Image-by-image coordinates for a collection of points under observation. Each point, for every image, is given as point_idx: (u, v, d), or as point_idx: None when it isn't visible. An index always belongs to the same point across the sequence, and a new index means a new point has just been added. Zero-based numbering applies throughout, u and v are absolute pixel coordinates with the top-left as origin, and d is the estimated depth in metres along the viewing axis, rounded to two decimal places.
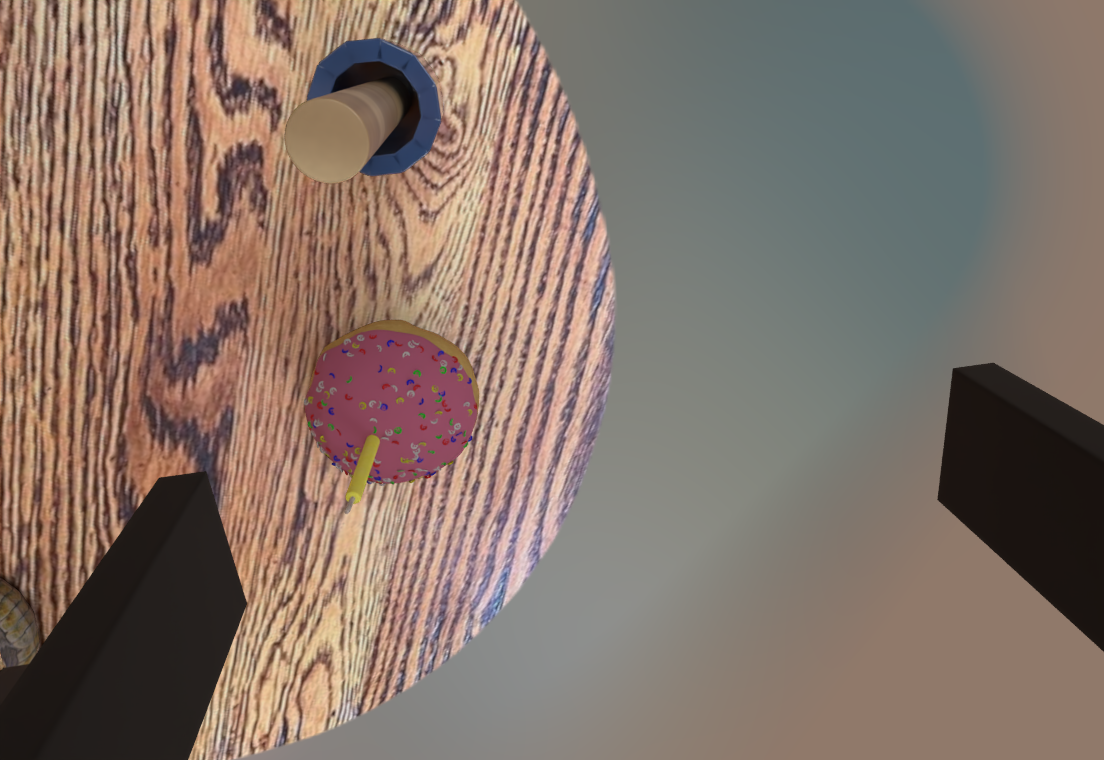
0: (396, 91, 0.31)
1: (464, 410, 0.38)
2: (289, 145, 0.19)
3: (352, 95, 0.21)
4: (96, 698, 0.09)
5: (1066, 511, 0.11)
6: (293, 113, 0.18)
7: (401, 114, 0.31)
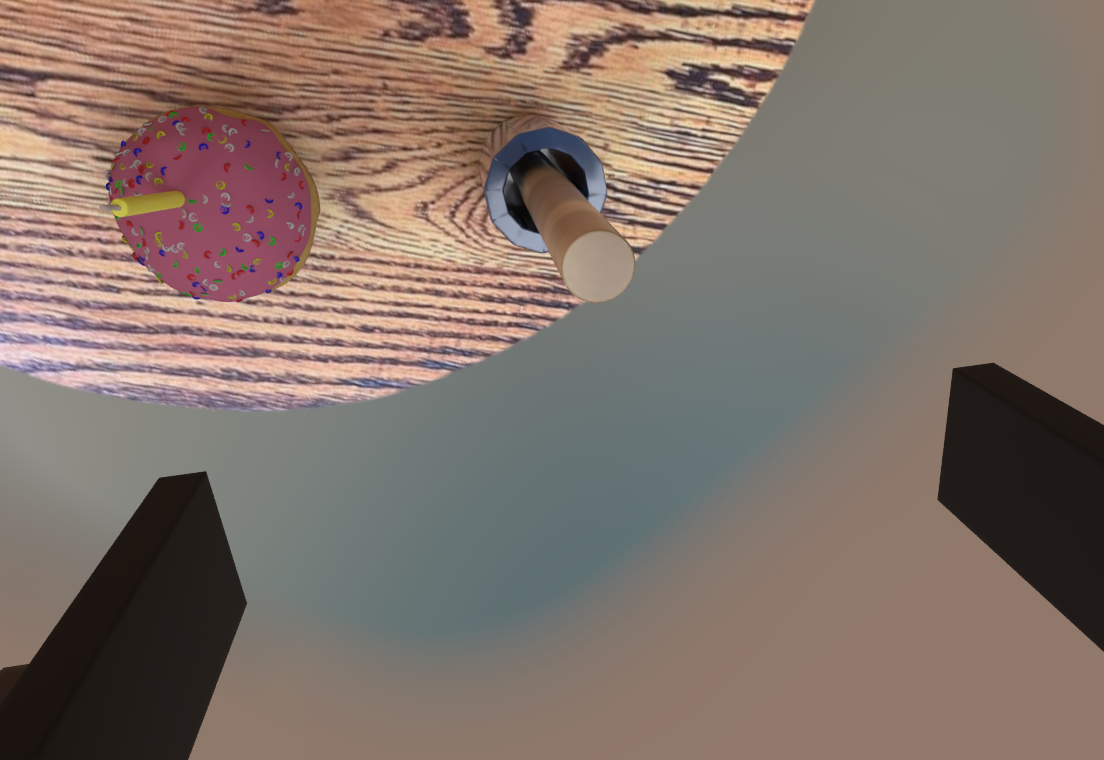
0: None
1: (234, 291, 0.34)
2: (592, 234, 0.20)
3: None
4: (96, 698, 0.09)
5: (1066, 511, 0.11)
6: (620, 237, 0.20)
7: None
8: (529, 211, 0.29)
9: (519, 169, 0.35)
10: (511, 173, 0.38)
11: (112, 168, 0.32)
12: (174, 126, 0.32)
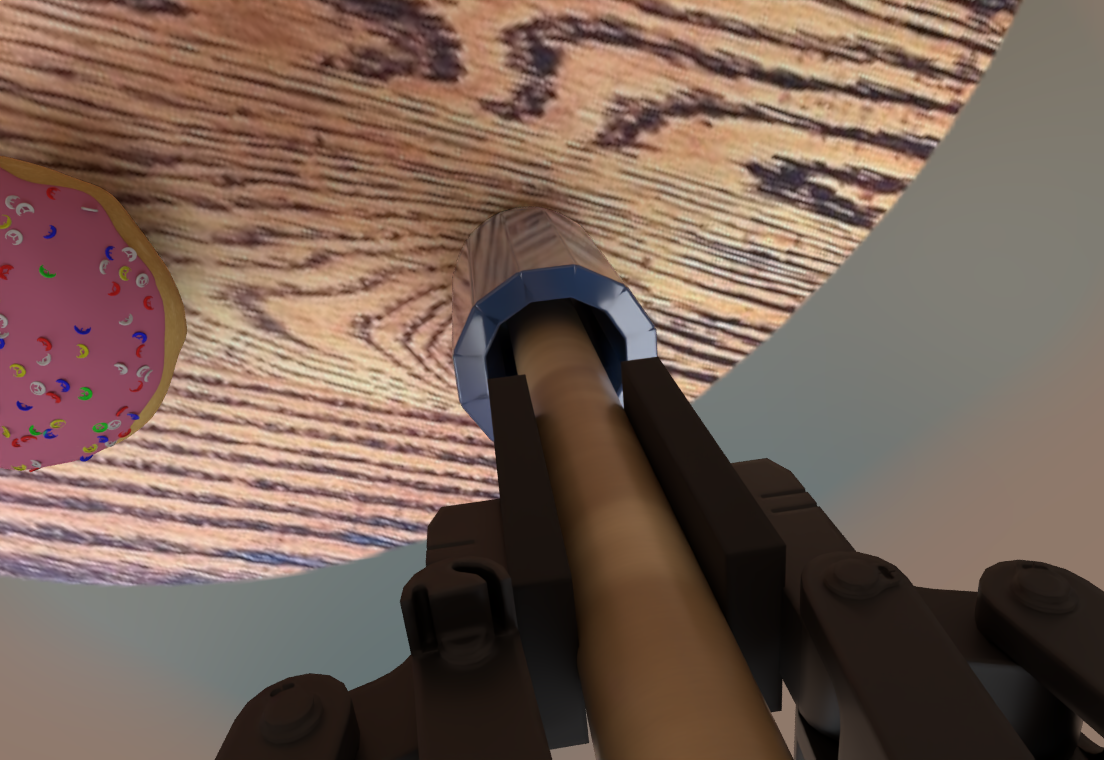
0: None
1: (21, 461, 0.21)
2: None
3: None
4: None
5: None
6: None
7: None
8: None
9: None
10: None
11: None
12: None
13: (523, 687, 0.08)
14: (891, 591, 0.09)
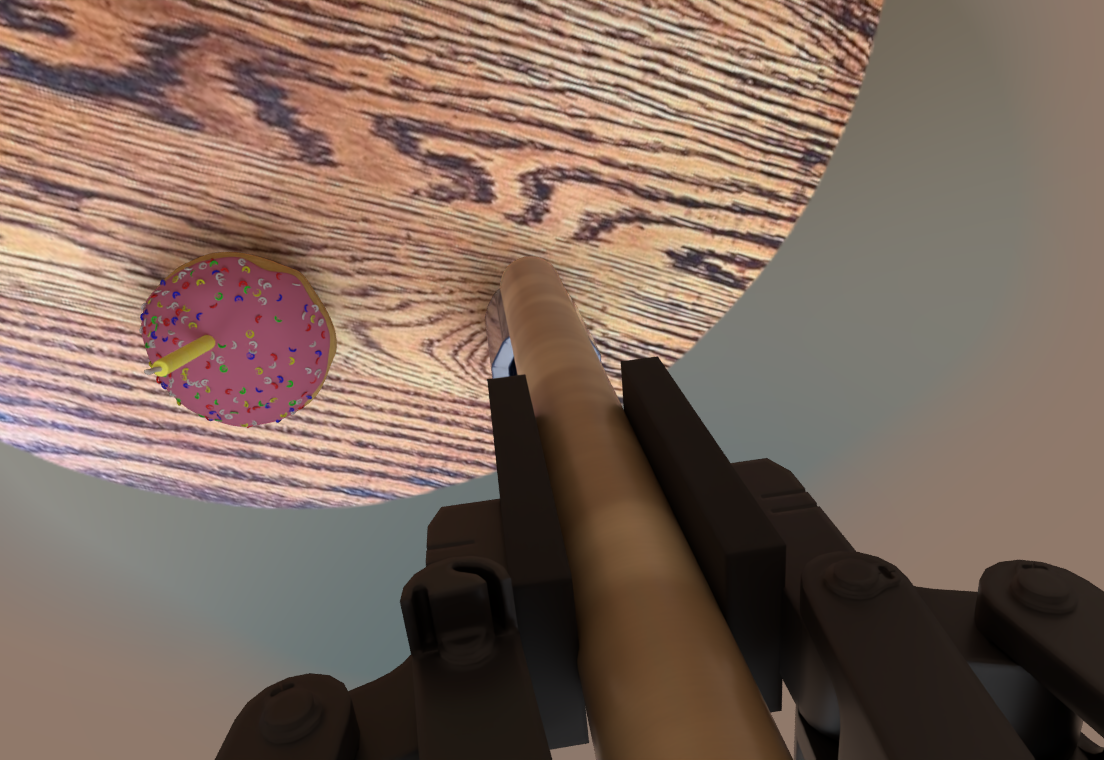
0: None
1: (247, 421, 0.37)
2: None
3: None
4: None
5: None
6: None
7: None
8: None
9: (515, 307, 0.22)
10: (502, 295, 0.25)
11: (149, 302, 0.35)
12: (213, 275, 0.34)
13: (523, 687, 0.08)
14: (891, 591, 0.09)
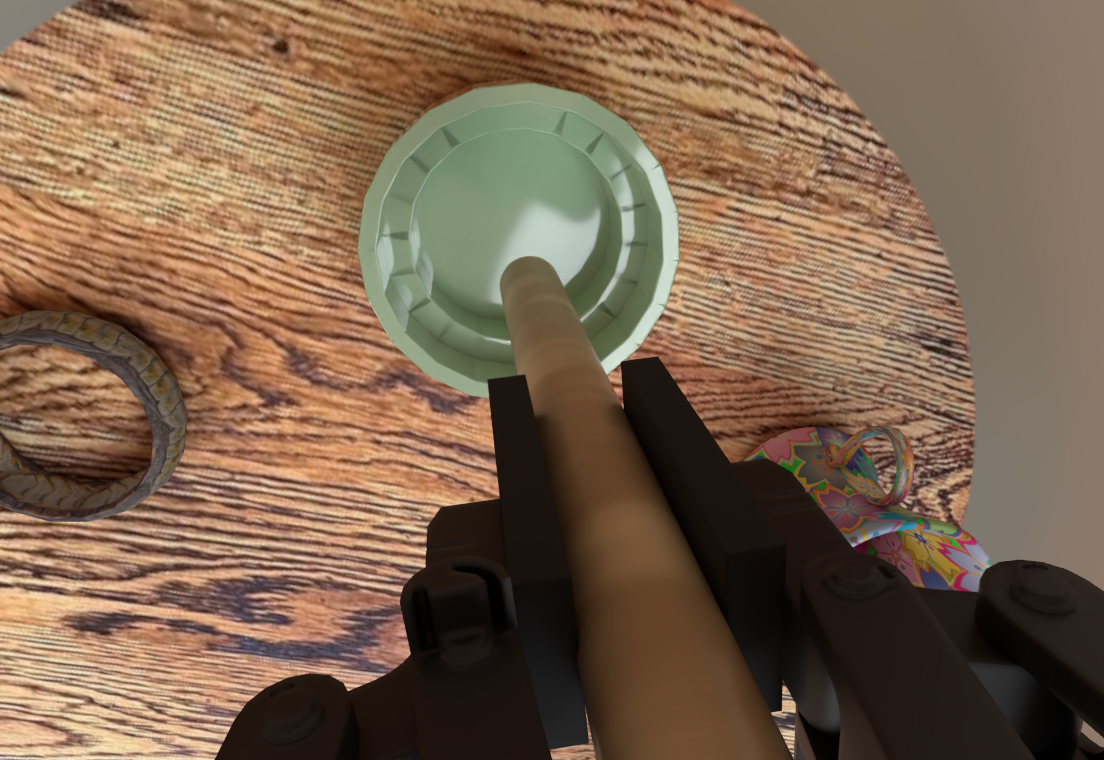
0: None
1: None
2: None
3: None
4: None
5: None
6: None
7: None
8: None
9: (515, 306, 0.22)
10: (501, 294, 0.25)
11: None
12: None
13: (523, 687, 0.08)
14: (891, 591, 0.09)
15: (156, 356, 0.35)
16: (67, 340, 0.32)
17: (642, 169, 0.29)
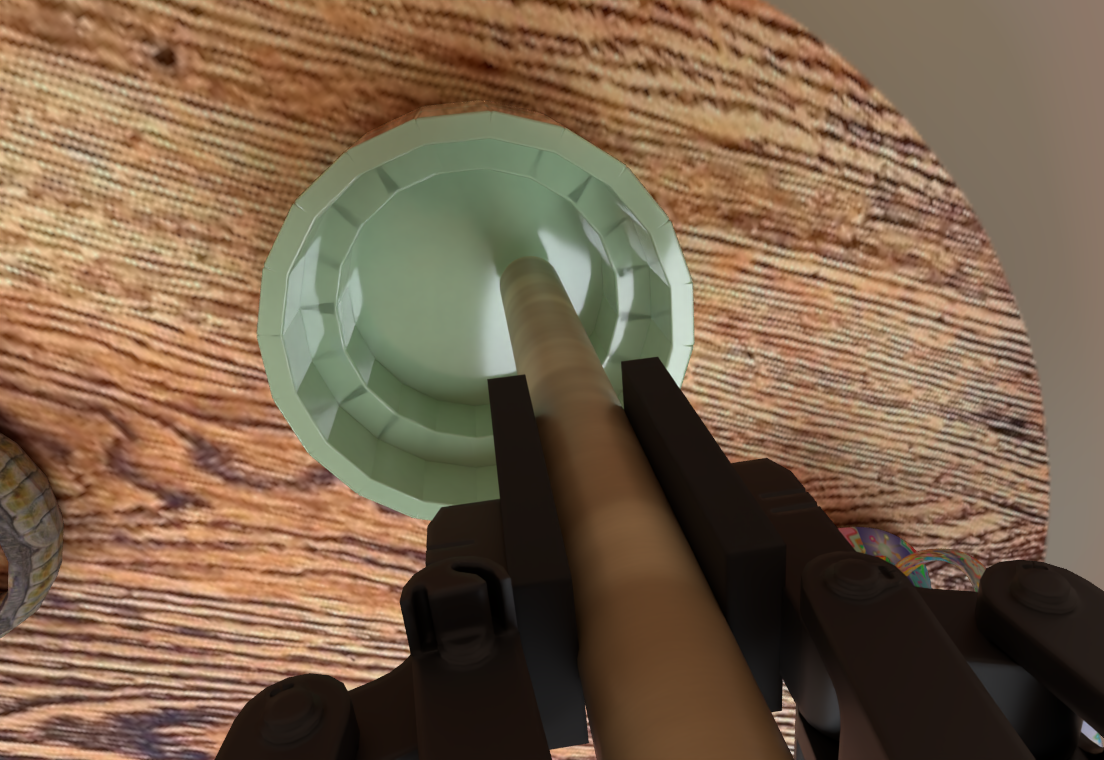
0: None
1: None
2: None
3: None
4: None
5: None
6: None
7: None
8: None
9: (515, 306, 0.22)
10: (501, 294, 0.25)
11: None
12: None
13: (523, 687, 0.08)
14: (891, 591, 0.09)
15: (16, 455, 0.27)
16: None
17: (645, 227, 0.22)
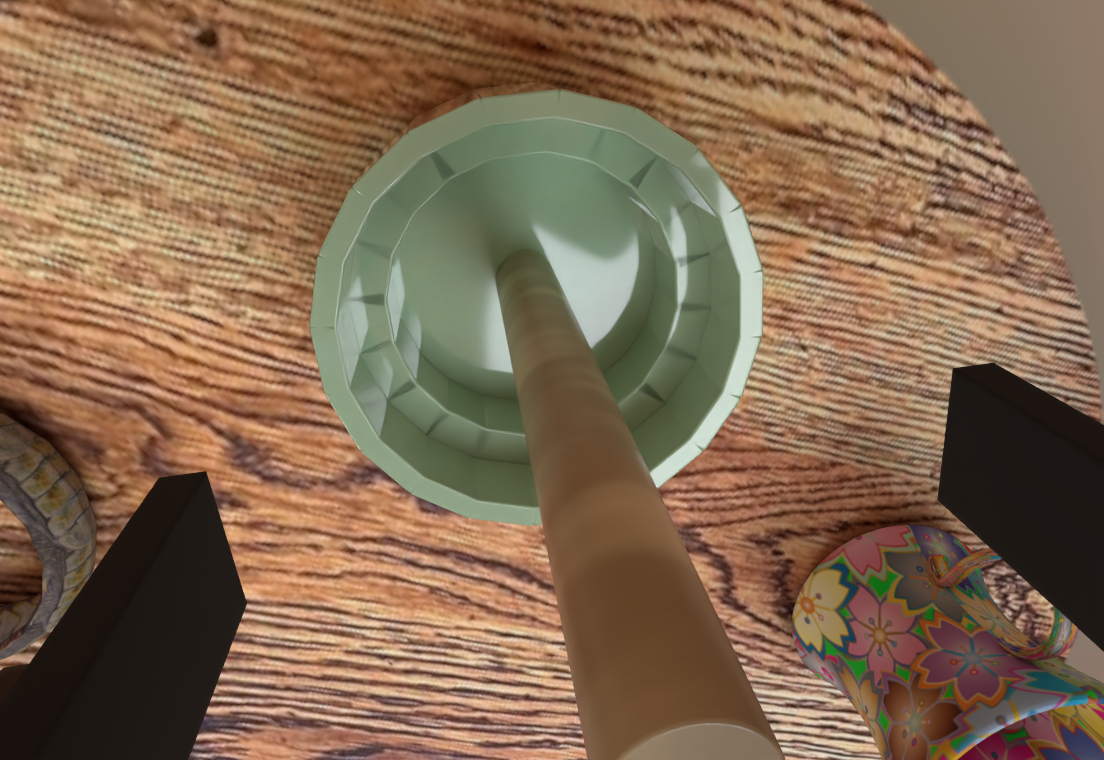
0: None
1: None
2: (691, 727, 0.08)
3: None
4: (96, 698, 0.09)
5: (1066, 511, 0.11)
6: (763, 737, 0.08)
7: None
8: (521, 414, 0.17)
9: (510, 299, 0.22)
10: (497, 288, 0.25)
11: None
12: None
13: None
14: None
15: (49, 454, 0.26)
16: None
17: (715, 212, 0.21)
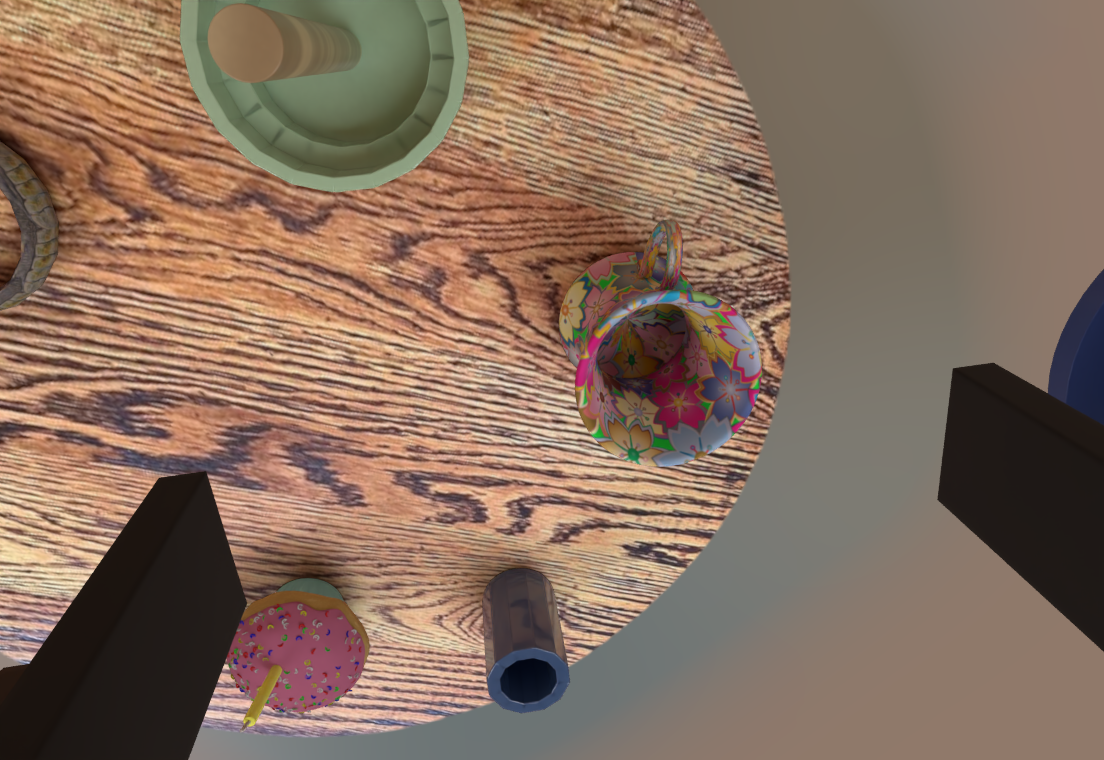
0: (339, 68, 0.34)
1: (303, 711, 0.49)
2: (237, 7, 0.21)
3: (300, 58, 0.24)
4: (96, 698, 0.09)
5: (1066, 511, 0.11)
6: (266, 15, 0.21)
7: None
8: None
9: None
10: None
11: None
12: (280, 620, 0.46)
13: None
14: None
15: (26, 164, 0.39)
16: None
17: None
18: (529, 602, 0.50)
